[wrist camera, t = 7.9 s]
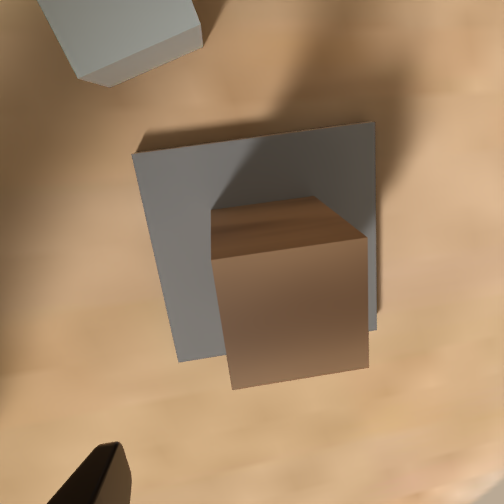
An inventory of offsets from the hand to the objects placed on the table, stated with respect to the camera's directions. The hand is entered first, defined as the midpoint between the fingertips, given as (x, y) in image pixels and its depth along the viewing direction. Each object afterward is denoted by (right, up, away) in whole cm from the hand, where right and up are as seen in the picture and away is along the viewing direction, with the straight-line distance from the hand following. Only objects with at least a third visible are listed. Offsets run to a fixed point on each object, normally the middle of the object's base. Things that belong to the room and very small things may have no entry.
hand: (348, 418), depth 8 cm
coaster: (-1, +4, +10) cm, 11 cm away
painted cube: (-6, +12, +7) cm, 15 cm away
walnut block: (-1, +3, +10) cm, 10 cm away
